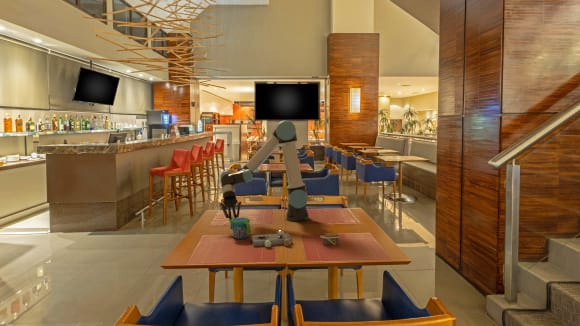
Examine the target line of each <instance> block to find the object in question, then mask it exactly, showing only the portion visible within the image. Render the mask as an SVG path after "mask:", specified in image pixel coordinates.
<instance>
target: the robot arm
mask: <svg viewBox="0 0 580 326" xmlns="http://www.w3.org/2000/svg"><path fill="white" fill-rule="evenodd" d="M297 142H298V137H297V129H296V125H295V124H294V123H293V122H292V121H291V120H286V119H285V120H281V121H279V122H278V124H277V125H276V127H275V129H274V130H273V131H272V133H271V136H270V137H269V138H268V139H267V141H266V142H265V143H264V144H263V145H262V146H261V147H260V148H259V149H258V150H257V151H256V152H255V154H254V155H253V156H252V157H251V158H250V159H249V160H248V161H247V163H245V164H244V166H243V167H242V168H241V169H240V170H239V171H237V172H231V170H229V171H227V170H224V171H222V172H221V173H220V186H221V191H222V198H223V201H222V202H220V203H219V207H220V208H221V210H222V212H223V214H224V216H225V218H226V219H229V224H231V222H230V221H231V219H234V218H240V217H239V216H240V211H241V206H242V201H238V199H237V195H236V190H235V186H238V185H241V184H245V183H248V182H252V181H253V174H254V173H255V172H256V171H257V170H258V169H259V168H260V166H262V165H263V163H265V161H266V160H267V159H268V158H269V157H270V156H271V155H272V154H273V152H274V151H276V149H277V148H278V147H279V146H280V147H281V148H282V149H281V150H282V155H283V162H284V166H285V171H286V172H285V173H286V177H287V183H288V185H287V186H286V191H287V200H288V203H287V204H288V205H287V206H288V207H287V210H286V213H285V220H286V221H289V222H304V221H308V220H309V219H310V215H309V212H308V208H307V204H308V202H309V195H308V192H307V186H306V183H305V182H303V179H302V178H303V177H302V172H301V168H300V163H299V162H300V161H299V156H298V151H297V150H298V149H297ZM236 206H237V209H236ZM226 208H227V209H226ZM231 209H232V211H231ZM232 215H233V216H232Z"/></svg>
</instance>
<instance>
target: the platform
mask: <svg viewBox="0 0 580 326" xmlns="http://www.w3.org/2000/svg"><path fill="white" fill-rule="evenodd" d="M340 237H341V235H340V234H338V233H337V232H325V233H324V234H323V235H320V238H322V246H325V245H326V246H327V245H328V246H331V245H332V246H336V245H339V238H340Z"/></svg>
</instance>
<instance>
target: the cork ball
mask: <svg viewBox="0 0 580 326" xmlns="http://www.w3.org/2000/svg"><path fill="white" fill-rule="evenodd" d="M290 245H292V244H291V241H290V240H289V239H286V240H285V241H284V246H285V247H289V246H290Z"/></svg>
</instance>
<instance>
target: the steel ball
mask: <svg viewBox="0 0 580 326" xmlns="http://www.w3.org/2000/svg"><path fill="white" fill-rule="evenodd" d="M284 233H285V232H284V230H282V229H279V230H278V231H277V232H276V234H277V235H278V236H279V237H282V236H283V235H284Z"/></svg>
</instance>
